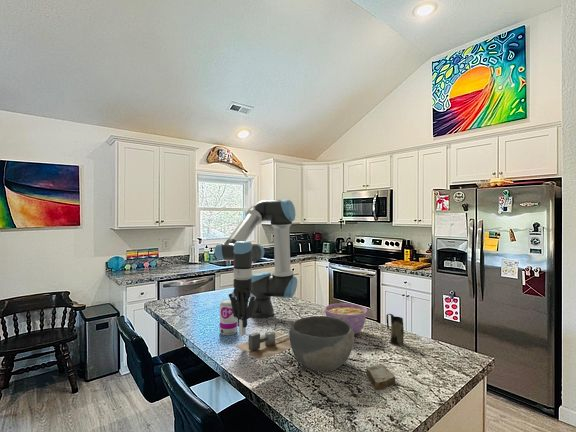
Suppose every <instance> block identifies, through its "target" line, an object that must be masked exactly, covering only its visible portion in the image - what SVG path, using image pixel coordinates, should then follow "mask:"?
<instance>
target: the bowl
mask: <svg viewBox="0 0 576 432" xmlns="http://www.w3.org/2000/svg"><path fill="white" fill-rule="evenodd" d="M288 334H289V338H290V344H291V347H292V348H291V350H292V353H293V354H294V357H295V358H296V360H297V361H298V362H299V363H300V364H301V365H303V366H304V367H305V368H308V369H309V370H312V371H316V372H322V373H326V372H327V373H328V372H333V371H335V370H337V369H338V368H340V367H341V366H342V365H344V364H345V363H346V362H347V361H348V360H349V357H350V355H351V354H352V350H353V347H354V343H355V334H354V331H353V329H352V327H351V326H350V325H349V324H348V323H347V322H345V321H343V320H340V319H337V318H332V317H326V315H325V316H324V315H320V316H319V315H315V316H313V315H312V316H306V317H302V318H299V319H297V320H296V321H294V322H293V323H291V325H290V328H289V333H288Z"/></svg>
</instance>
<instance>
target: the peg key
mask: <svg viewBox="0 0 576 432" xmlns="http://www.w3.org/2000/svg"><path fill="white" fill-rule="evenodd" d="M275 333H276V332H275V331H266V332H265V333H264V335H265V336H263V337H260V335H261V333H260V332H257V331H256V332H252V333H249V334H248V341H249V350H251V351H254V350H257V349H260V343H262V342H265V345H267V346H273V345H275V340H277V339H280V338H283V337H286V336H289V333H286V334H283V336H280V337H277V338H275Z"/></svg>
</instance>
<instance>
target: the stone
mask: <svg viewBox="0 0 576 432" xmlns="http://www.w3.org/2000/svg"><path fill="white" fill-rule="evenodd" d="M365 373H366V374H365V375H366V377H367V378H368V380H369V382H370V383H371V386H372V387H373V388H374V390H375V391H378V392H380V391H382V390H384V389H387V388H390V387H391V386H394V385H396V376H395V374H394V373H393V372H392V371H391V370H389V369H387V367H386V366H385V365H384V364H382V363H381V364H379V363H378V364H376V365H372V366H371V365H370V366H368V367H366V370H365Z"/></svg>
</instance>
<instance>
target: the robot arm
mask: <svg viewBox="0 0 576 432" xmlns="http://www.w3.org/2000/svg"><path fill="white" fill-rule="evenodd" d="M295 220H296V208H295V204H294V203H293V201H292V200H290V199H284V198H283V199H264V200H259V201H258V202H256V203H255V204H253V205H252V206H251V207H250V208H248V209H247V211H246V212H245V216H244V218H243V219H242V220H241V221H240V223H239V224H238V225H237V227H236V228H235V229H234V231H233V232H232V233H231V235H229V237H228V238H227V239H226V241H224V242H222V243H217V244H216V245H215V247H214V256H215V258H216V259H217V260H221V261H233V278H234V279H233V288H234V289H233V291H232V292H231V293H228V297H229V299H230V300H231V305H232V310H233V316H234V317H236V318H237V328H238V335H239V336H241V337H243V336H245V335H246V330H247V327H248V320H249V319H251V318H262V319H263V318H268V317H269V318H270V317H271V316H273V315H274V314H275V309H274V307H273V303H272V299H271V297H273V298H283V299H291V298H293V297H294V295H295V294H296V290H297V287H298V278H297V277H296V276H294V272H293V271H292V270H291V248H290V247H291V245H290V243H291V242H290V241H291V240H290V227H291V226H292V224H293V222H294V221H295ZM262 222H270V226H271V227H272V228H273V248H274V249H273V250H274V251H273V253H274V271H273V272H272V273H271V272H270V271H262V272H257V273H253V274H252V271H253V269H252V265H253V264H252V263H253V262H258V261H259V260H261V259H262V258H264V255H265V248H264V247H263V246H262V245H261V244H259V243H252V242H251V241H249V240H248V238H249V237H250V235H251V234H252V233H253V231H254V230H255V228H256V227H257V226H258V225H261V224H262ZM247 240H248V241H247Z"/></svg>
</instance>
